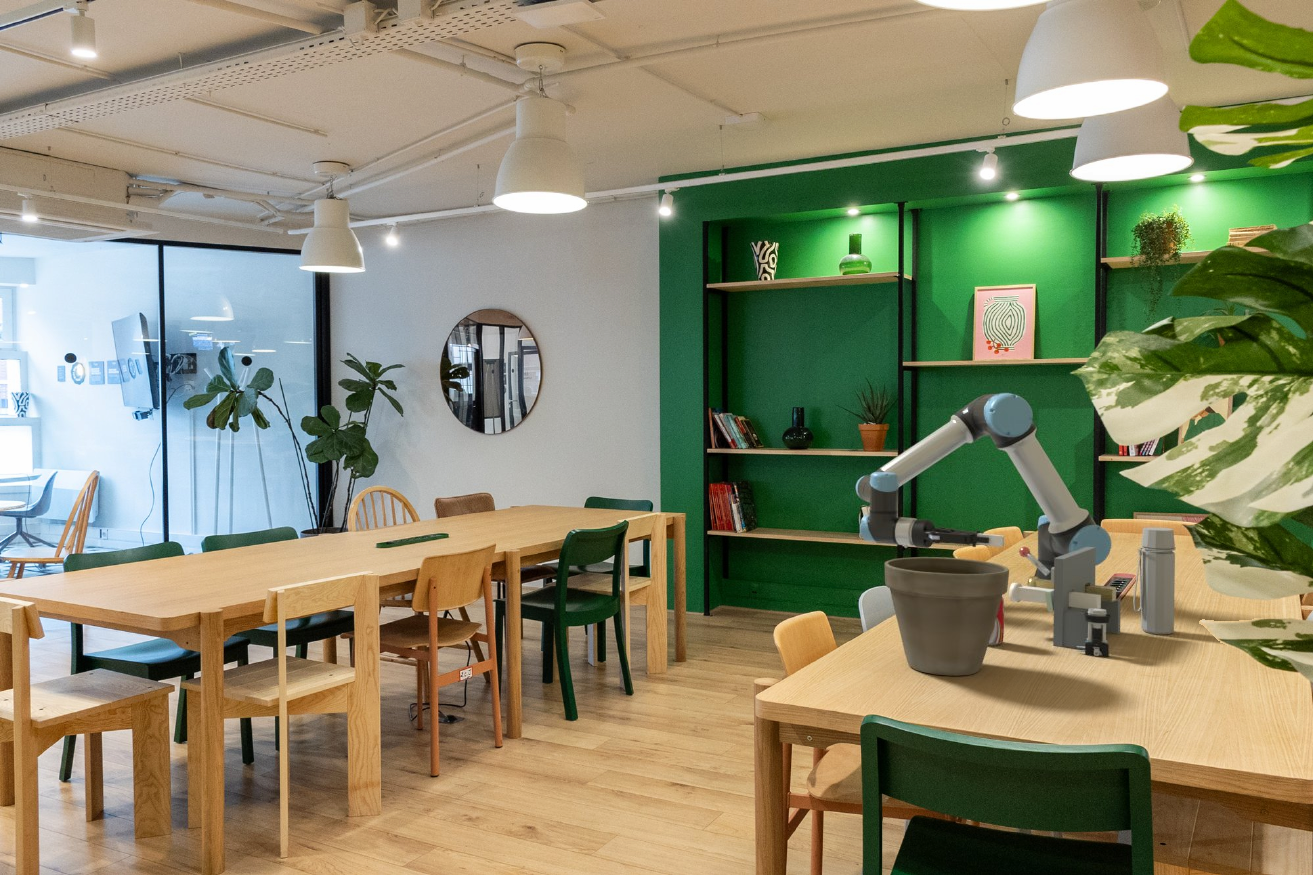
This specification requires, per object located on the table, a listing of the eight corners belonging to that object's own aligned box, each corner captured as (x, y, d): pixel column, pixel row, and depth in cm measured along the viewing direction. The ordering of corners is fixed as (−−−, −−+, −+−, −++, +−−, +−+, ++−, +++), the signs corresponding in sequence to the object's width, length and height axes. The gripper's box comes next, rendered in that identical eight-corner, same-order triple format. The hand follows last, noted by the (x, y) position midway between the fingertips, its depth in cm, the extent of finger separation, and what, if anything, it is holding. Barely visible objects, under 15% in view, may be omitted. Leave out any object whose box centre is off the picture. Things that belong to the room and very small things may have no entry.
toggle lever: (1021, 572, 231) (1021, 545, 230) (1051, 575, 226) (1052, 548, 226) (1017, 573, 229) (1017, 546, 229) (1048, 576, 224) (1048, 549, 224)
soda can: (1006, 647, 221) (1006, 594, 221) (973, 645, 223) (973, 593, 222) (1001, 640, 228) (1002, 589, 228) (969, 638, 230) (970, 587, 229)
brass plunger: (1033, 592, 246) (1033, 575, 246) (1116, 602, 233) (1117, 584, 233) (1027, 595, 242) (1027, 577, 242) (1111, 605, 230) (1111, 586, 230)
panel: (1082, 626, 242) (1083, 546, 241) (1120, 632, 236) (1121, 549, 236) (1049, 644, 224) (1050, 557, 223) (1090, 651, 218) (1091, 561, 217)
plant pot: (955, 648, 221) (956, 552, 220) (1034, 676, 198) (1035, 569, 197) (860, 658, 212) (861, 558, 211) (932, 689, 189) (932, 577, 188)
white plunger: (1015, 599, 237) (1016, 581, 236) (1101, 610, 224) (1101, 591, 224) (1009, 602, 233) (1009, 584, 233) (1095, 613, 221) (1096, 594, 220)
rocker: (1051, 609, 226) (1048, 590, 227) (1057, 609, 226) (1053, 590, 226) (1048, 611, 224) (1044, 592, 225) (1053, 611, 224) (1050, 591, 224)
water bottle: (1166, 628, 240) (1167, 527, 239) (1180, 636, 232) (1181, 531, 231) (1127, 627, 241) (1128, 526, 240) (1139, 635, 233) (1141, 530, 232)
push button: (1076, 655, 214) (1077, 610, 213) (1077, 650, 219) (1077, 605, 218) (1110, 659, 211) (1110, 613, 211) (1109, 653, 216) (1110, 608, 216)
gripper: (926, 544, 268) (1012, 553, 253) (904, 549, 258) (992, 558, 243) (927, 516, 268) (1013, 524, 253) (905, 520, 258) (993, 528, 243)
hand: (1003, 541), depth 248 cm, fingers closed
